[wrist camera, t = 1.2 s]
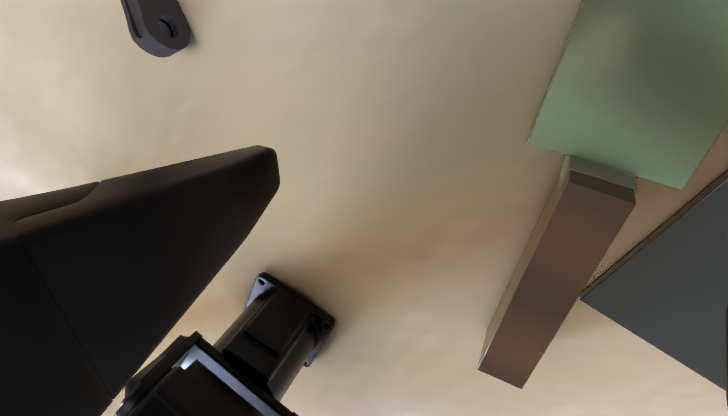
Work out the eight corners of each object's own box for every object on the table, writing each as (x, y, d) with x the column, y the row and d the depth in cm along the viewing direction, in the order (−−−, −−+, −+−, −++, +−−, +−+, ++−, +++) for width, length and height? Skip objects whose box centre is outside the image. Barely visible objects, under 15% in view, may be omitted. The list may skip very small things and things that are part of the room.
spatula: (560, 360, 25) (557, 405, 23) (457, 317, 26) (444, 355, 24) (804, -8, 14) (846, 7, 11) (601, -46, 15) (602, -40, 13)
